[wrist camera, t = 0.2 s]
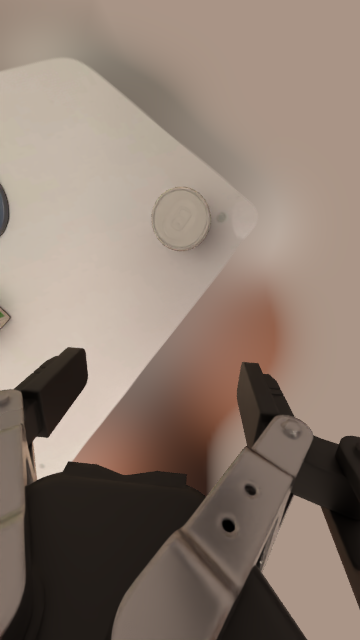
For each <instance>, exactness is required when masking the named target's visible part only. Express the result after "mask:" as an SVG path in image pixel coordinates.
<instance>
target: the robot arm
mask: <svg viewBox="0 0 360 640" xmlns="http://www.w3.org/2000/svg"><path fill="white" fill-rule="evenodd" d="M87 379H88V371H87V362H86V353H85V350H84V349H83V348H71V347H68V348H67V349H65V350H64V351H63V352H62V353H61V354H60V355H59V356H55V357H53V358H51V359H49V360H47V361H46V362H45V363H43V364H42V365H41V366H40V367H39V368H38V369H36V370H35V371H34V373H32V374H31V375H30V376H28V377H27V378H26V379H25V380H24V381H23V382H21V383H20V384H19V385H18V386H17V387H16V388H14V389H9V390H2V391H0V640H307V639H306V637H305V636H304V634H303V633H302V631H301V630H300V628H299V627H298V625H297V624H296V623H295V621H294V620H293V618H292V617H291V615H290V614H289V612H288V611H287V609H286V608H285V606H284V605H283V603H282V602H281V601H280V599H279V597H278V596H277V595H276V593H275V592H274V590H273V589H272V587H271V586H270V584H269V583H268V581H267V580H266V578H265V577H264V576H263V574H262V572H263V570H264V567H265V565H266V562H267V560H268V557H269V555H270V552H271V550H272V547H273V544H274V541H275V539H276V537H277V534H278V532H279V530H280V527H281V525H282V522H283V520H284V518H285V515H286V513H287V511H288V509H289V506H290V504H291V501H292V499H293V497H294V495H296V496H299V497H301V498H304V499H306V500H308V501H311V502H313V503H315V504H317V505H320V506H321V508H322V511H323V513H324V516H325V519H326V521H327V524H328V527H329V529H330V532H331V534H332V537H333V540H334V542H335V545H336V548H337V550H338V553H339V555H340V558H341V561H342V564H343V566H344V568H345V571H346V574H347V577H348V579H349V582H350V585H351V587H352V590H353V592H354V595H355V598H356V600H357V603H358V606H359V608H360V438H359V437H355V436H345V437H343V438H342V439H341V441H340V443H339V444H336V443H333V442H330V441H326V440H324V439H321V438H318V437H316V436H314V435H313V433H312V431H311V429H310V428H309V427H308V426H307V425H306V424H305V423H304V422H302V421H301V420H299V419H297V418H295V417H294V415H293V413H292V411H291V409H290V407H289V405H288V403H287V401H286V399H285V397H284V396H283V393H282V391H281V390H280V387H279V385H278V383H277V381H276V380H275V379H273V378H272V377H271V376H270V375H269V374H263V373H262V371H261V368H260V366H259V364H258V363H247V362H242V365H241V370H240V376H239V382H238V388H237V400H238V405H239V410H240V415H241V419H242V423H243V428H244V433H245V437H246V442H247V446H246V447H245V448H244V449H243V450H242V451H241V452H240V454H239V455H238V456H237V458H236V459H235V460H234V462H233V463H232V464H231V466H230V467H229V468H228V469H227V471H226V472H225V473H224V474H223V476H222V477H221V478H220V480H219V481H218V482H217V484H216V485H215V486H214V488H213V489H212V490H211V491H210V493H209V494H208V495H207V497H206V496H205V495H203V494H202V493H201V492H199V491H198V490H196V489H194V488H192V487H190V486H188V485H186V476H187V475H186V474H180V473H179V474H178V473H170V472H160V471H155V472H147V473H140V474H132V475H122V474H119V473H116V472H114V471H112V470H109V469H107V468H104V467H102V466H99V465H97V464H87V463H78V462H69V461H68V463H67V465H66V467H65V469H64V470H63V472H60V473H56V474H52V475H49V476H46V477H43V478H41V479H39V480H37V476H36V465H35V455H34V446H33V440H34V439H35V438H36V437H46V438H48V437H49V436H50V434H51V433H52V431H53V430H54V429H55V427H56V426H57V425H58V423H59V422H60V420H61V419H62V418H63V416H64V415H65V414H66V412H67V411H68V409H69V408H70V407H71V405H72V404H73V402H74V401H75V400H76V398H77V397H78V396H79V394H80V393H81V391H82V390H83V389H84V387H85V385H86V383H87Z"/></svg>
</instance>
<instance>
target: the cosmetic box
mask: <svg viewBox="0 0 360 640" xmlns="http://www.w3.org/2000/svg"><path fill="white" fill-rule="evenodd" d="M9 318H10V317H9V316H8V315H7V314H6V313H5V312H4V311H3V310H2V309H1V308H0V328H1V327H2V326H3V325H4V324H5V323H6V322H7V321H8V320H9Z"/></svg>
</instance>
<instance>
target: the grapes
mask: <svg viewBox="0 0 360 640" xmlns="http://www.w3.org/2000/svg"><path fill="white" fill-rule="evenodd" d="M8 216H9V209H8V202H7V198H6V195H5V193H4V190H3V188H2V186H1V185H0V235H1V234H2V233H3V232H4V230H5V228H6V225H7V222H8Z"/></svg>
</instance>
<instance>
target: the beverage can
mask: <svg viewBox="0 0 360 640" xmlns="http://www.w3.org/2000/svg"><path fill="white" fill-rule="evenodd" d="M151 217H152V226H153V230H154V233H155V235H156V236H157V238H158V240H159V241H160V242H161V243H162V244H163V245H165V246H166V247H168V248H170V249H173V250H176V251H186V250H190V249H193V248H194V247H196V246H198V245H199V244H200V243H201V242H202V241H203V240H204V239H205V237H206V235H207V233H208V231H209V228H210V224H211V214H210V210H209V206H208V204H207V202H206V201H205V199H204V198H203V197H202V196H201V195H200V193H198V192H196V191H195V190H193V189H191V188H187V187H175V188H172V189H169V190H167V191H166V192H164V193H163V194H162V195H161V196H160V197H159V198H158V199H157V201H156V203H155V205H154V207H153V211H152V216H151Z"/></svg>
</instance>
